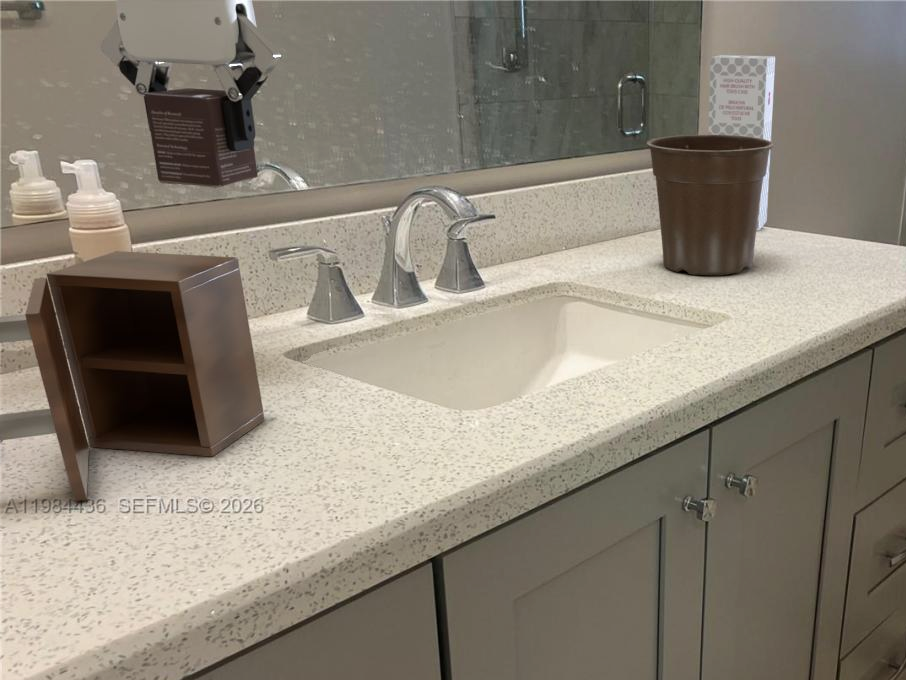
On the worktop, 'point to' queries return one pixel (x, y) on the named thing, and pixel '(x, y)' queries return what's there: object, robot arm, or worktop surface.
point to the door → (49, 387)
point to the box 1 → (194, 139)
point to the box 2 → (743, 104)
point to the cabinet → (159, 351)
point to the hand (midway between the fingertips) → (204, 145)
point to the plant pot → (709, 200)
